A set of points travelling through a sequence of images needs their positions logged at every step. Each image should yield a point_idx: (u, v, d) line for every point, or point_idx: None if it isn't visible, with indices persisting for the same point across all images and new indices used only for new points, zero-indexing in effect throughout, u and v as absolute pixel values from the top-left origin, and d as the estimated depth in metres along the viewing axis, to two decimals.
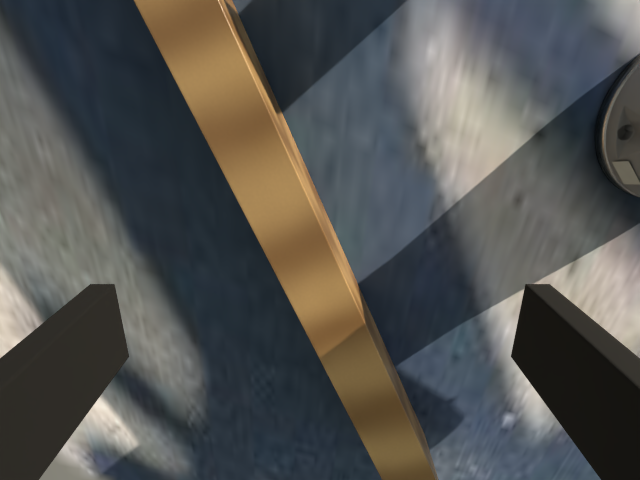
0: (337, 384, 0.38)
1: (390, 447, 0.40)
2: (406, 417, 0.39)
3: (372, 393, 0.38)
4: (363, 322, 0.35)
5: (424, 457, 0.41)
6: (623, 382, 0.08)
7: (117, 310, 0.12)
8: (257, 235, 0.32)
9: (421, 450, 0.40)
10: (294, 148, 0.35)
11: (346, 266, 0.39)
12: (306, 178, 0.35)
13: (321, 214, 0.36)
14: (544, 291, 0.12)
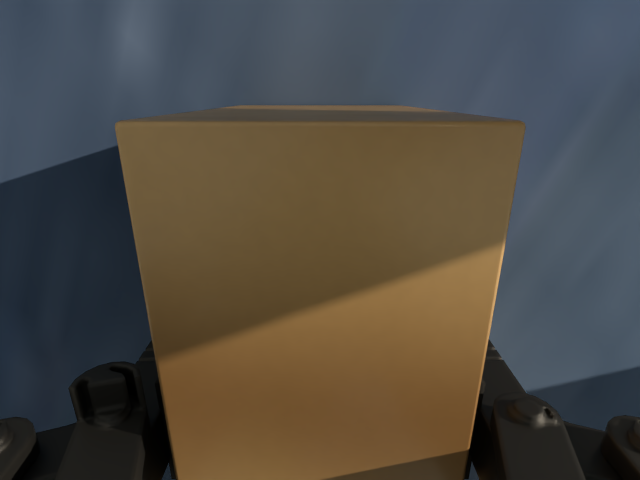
0: None
1: None
2: None
3: None
4: None
5: None
6: None
7: None
8: None
9: None
10: None
11: None
12: None
13: None
14: None
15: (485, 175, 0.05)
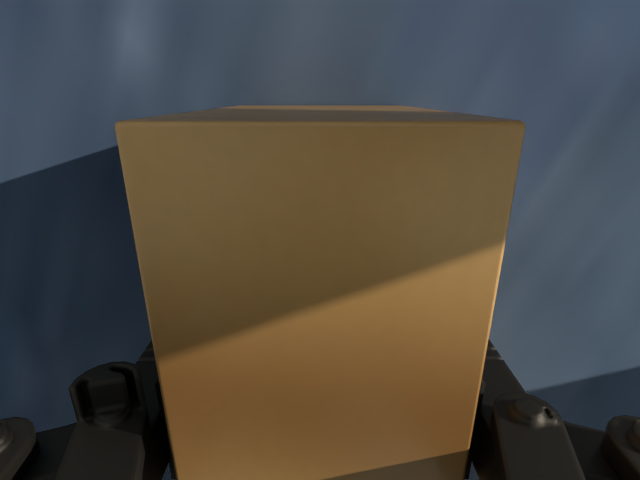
0: None
1: None
2: None
3: None
4: None
5: None
6: None
7: None
8: None
9: None
10: None
11: None
12: None
13: None
14: None
15: (485, 175, 0.05)
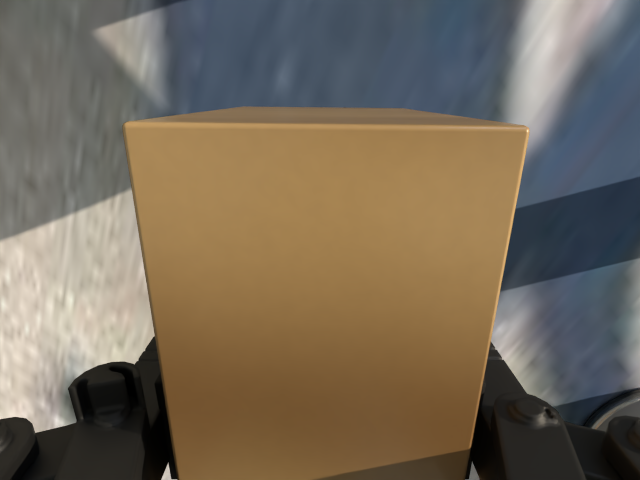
0: None
1: None
2: None
3: None
4: None
5: None
6: None
7: None
8: None
9: None
10: None
11: None
12: None
13: None
14: None
15: (489, 179, 0.05)
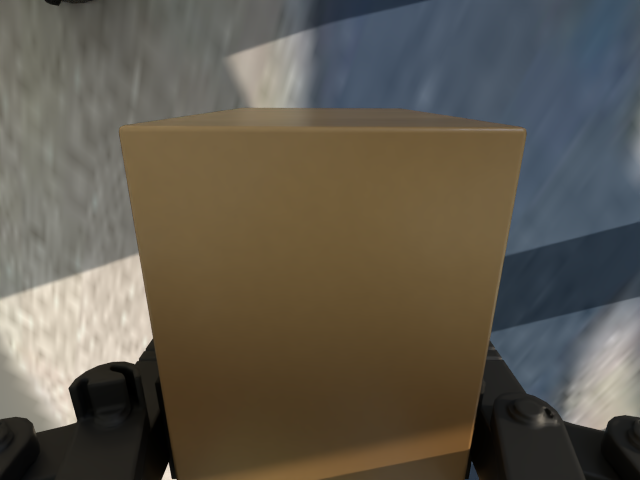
0: None
1: None
2: None
3: None
4: None
5: None
6: None
7: None
8: None
9: None
10: None
11: None
12: None
13: None
14: None
15: (486, 180, 0.05)
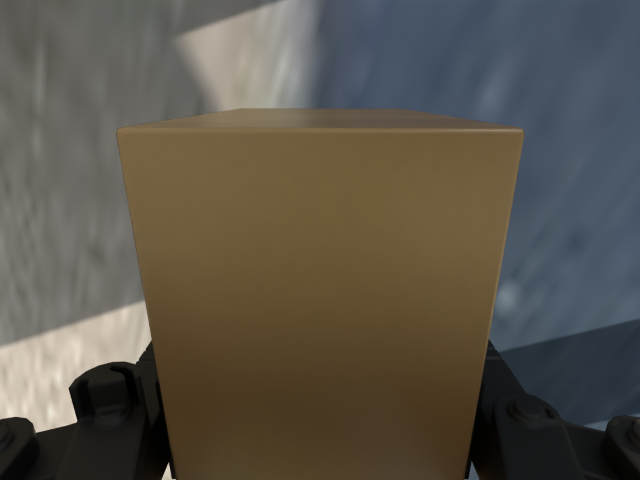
0: None
1: None
2: None
3: None
4: None
5: None
6: None
7: None
8: None
9: None
10: None
11: None
12: None
13: None
14: None
15: (484, 181, 0.05)
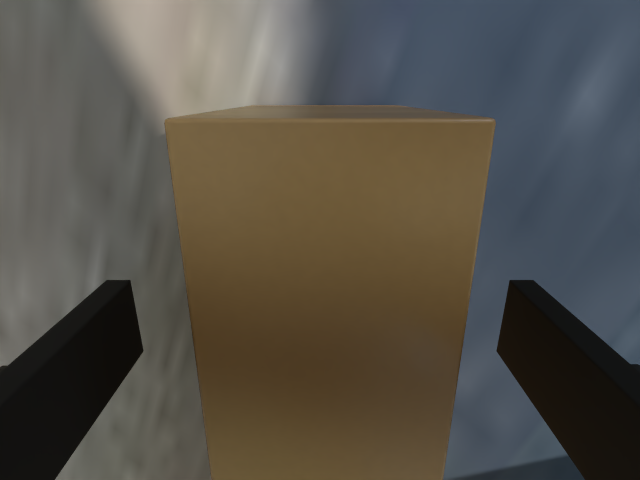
0: None
1: None
2: None
3: None
4: None
5: None
6: (597, 373, 0.09)
7: (132, 305, 0.13)
8: None
9: None
10: None
11: None
12: None
13: None
14: (527, 286, 0.12)
15: (464, 162, 0.06)
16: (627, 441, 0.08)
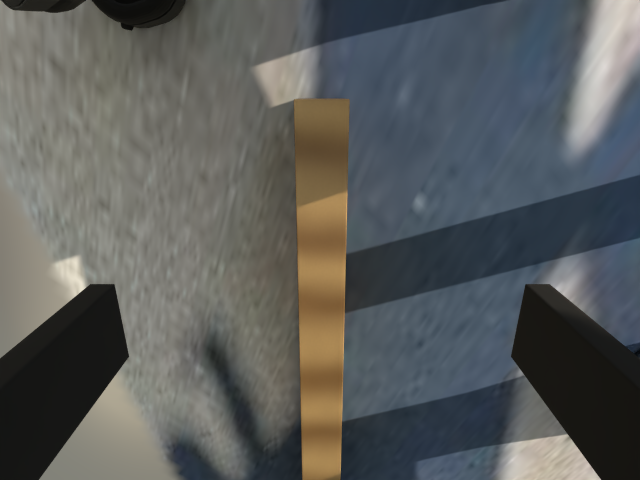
0: (305, 464, 0.54)
1: None
2: None
3: (324, 476, 0.54)
4: (340, 433, 0.52)
5: None
6: (623, 382, 0.08)
7: (117, 310, 0.12)
8: (300, 363, 0.48)
9: None
10: None
11: None
12: None
13: None
14: (544, 291, 0.12)
15: (344, 106, 0.38)
16: None
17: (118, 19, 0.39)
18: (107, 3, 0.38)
